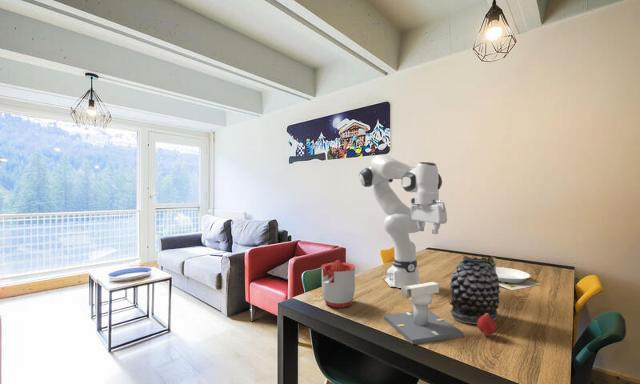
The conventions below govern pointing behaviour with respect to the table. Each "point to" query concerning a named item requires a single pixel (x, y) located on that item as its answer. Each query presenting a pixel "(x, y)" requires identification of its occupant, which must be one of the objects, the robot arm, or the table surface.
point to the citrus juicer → (338, 283)
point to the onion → (486, 325)
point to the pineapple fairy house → (475, 289)
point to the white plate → (511, 275)
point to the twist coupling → (420, 292)
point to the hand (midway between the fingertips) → (428, 232)
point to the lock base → (422, 330)
